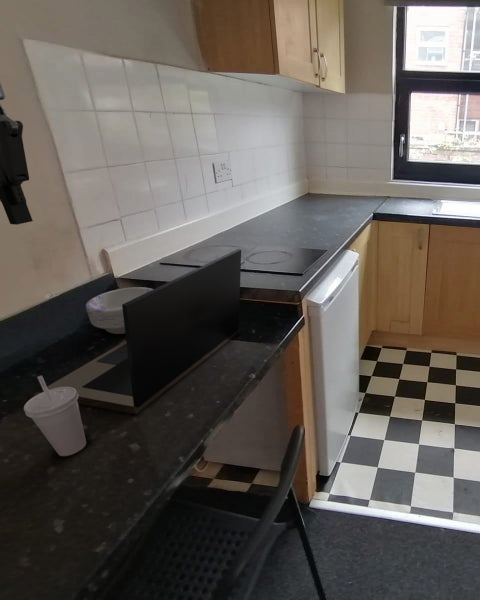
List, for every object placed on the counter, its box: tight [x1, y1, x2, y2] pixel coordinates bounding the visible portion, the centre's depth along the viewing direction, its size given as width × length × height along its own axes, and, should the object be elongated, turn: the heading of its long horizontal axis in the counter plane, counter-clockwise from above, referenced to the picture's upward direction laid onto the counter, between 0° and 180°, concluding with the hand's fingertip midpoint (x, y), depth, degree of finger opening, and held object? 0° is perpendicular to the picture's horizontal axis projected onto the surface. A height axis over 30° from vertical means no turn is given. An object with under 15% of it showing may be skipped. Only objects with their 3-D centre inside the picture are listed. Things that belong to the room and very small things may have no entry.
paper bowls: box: [85, 286, 154, 335], centre depth 102 cm, size 15×15×8 cm
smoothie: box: [23, 375, 87, 457], centre depth 62 cm, size 6×6×14 cm
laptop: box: [41, 331, 237, 415], centre depth 87 cm, size 21×30×2 cm
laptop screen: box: [122, 248, 242, 408], centre depth 80 cm, size 21×30×1 cm
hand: (21, 222), depth 71 cm, fingers closed
